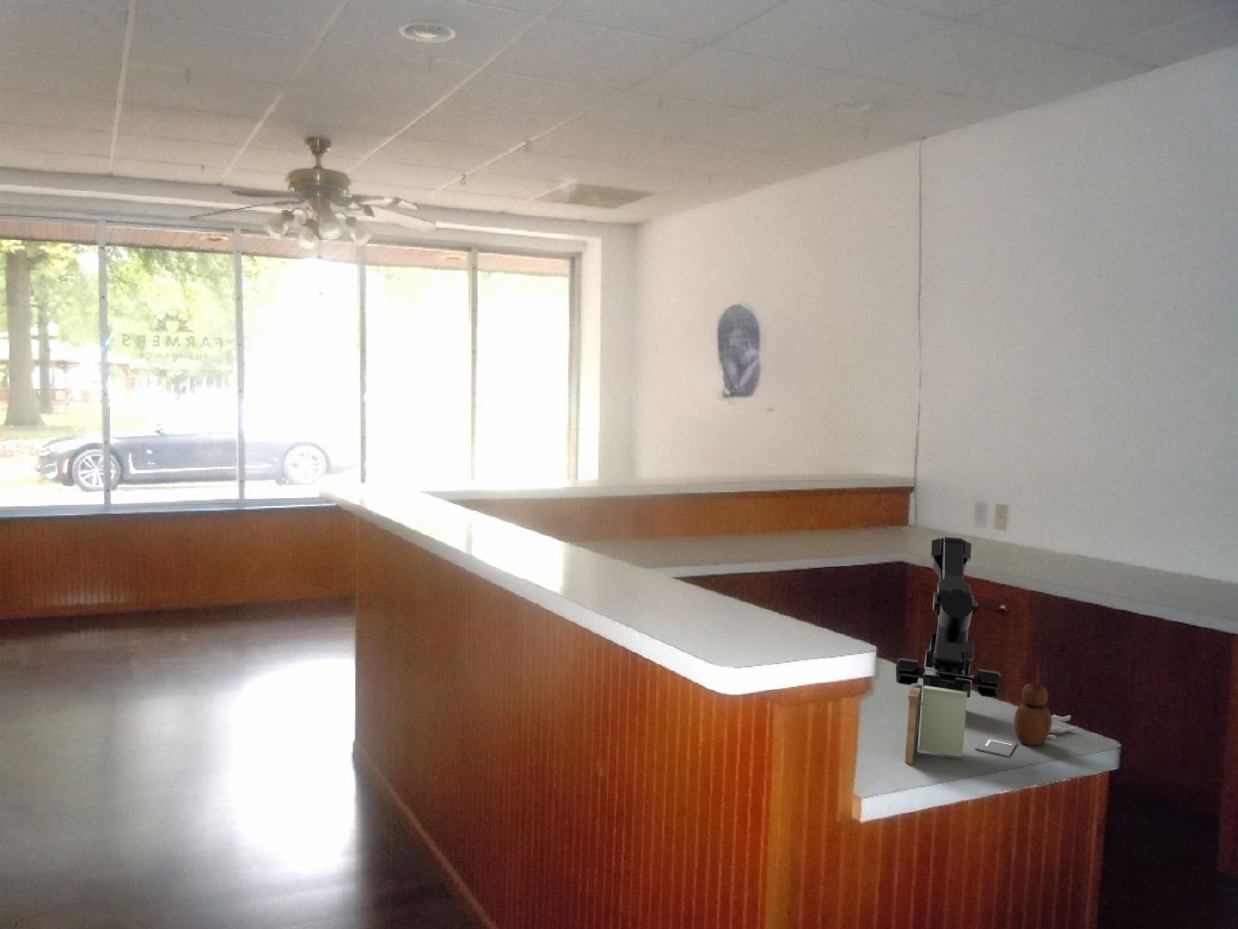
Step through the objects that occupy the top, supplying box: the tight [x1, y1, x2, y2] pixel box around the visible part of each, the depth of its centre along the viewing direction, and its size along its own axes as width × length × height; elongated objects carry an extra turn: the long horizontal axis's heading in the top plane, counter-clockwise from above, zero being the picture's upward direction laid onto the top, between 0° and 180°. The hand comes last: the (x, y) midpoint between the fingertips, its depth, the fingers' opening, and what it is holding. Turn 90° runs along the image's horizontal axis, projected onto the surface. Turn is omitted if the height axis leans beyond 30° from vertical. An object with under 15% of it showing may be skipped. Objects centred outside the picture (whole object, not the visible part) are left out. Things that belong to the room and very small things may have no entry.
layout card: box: [974, 735, 1018, 758], centre depth 189 cm, size 8×6×1 cm
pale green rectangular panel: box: [918, 686, 968, 758], centre depth 183 cm, size 8×2×12 cm, turn 69°
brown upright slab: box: [904, 683, 923, 765], centre depth 182 cm, size 8×2×12 cm, turn 159°
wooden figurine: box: [1013, 663, 1052, 746], centre depth 192 cm, size 7×6×15 cm
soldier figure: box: [1014, 714, 1076, 740], centre depth 198 cm, size 8×5×12 cm
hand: (943, 718), depth 185 cm, fingers closed
